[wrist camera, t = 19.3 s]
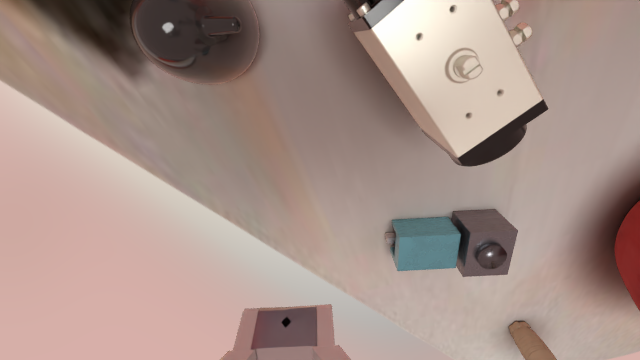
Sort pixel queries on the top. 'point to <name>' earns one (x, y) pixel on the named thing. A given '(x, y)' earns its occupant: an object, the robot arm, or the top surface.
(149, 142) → the top surface
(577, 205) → the top surface
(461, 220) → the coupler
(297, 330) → the robot arm
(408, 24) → the ball valve
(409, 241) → the teal storage bin
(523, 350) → the handle
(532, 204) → the top surface
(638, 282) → the mixing bowl
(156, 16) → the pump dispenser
